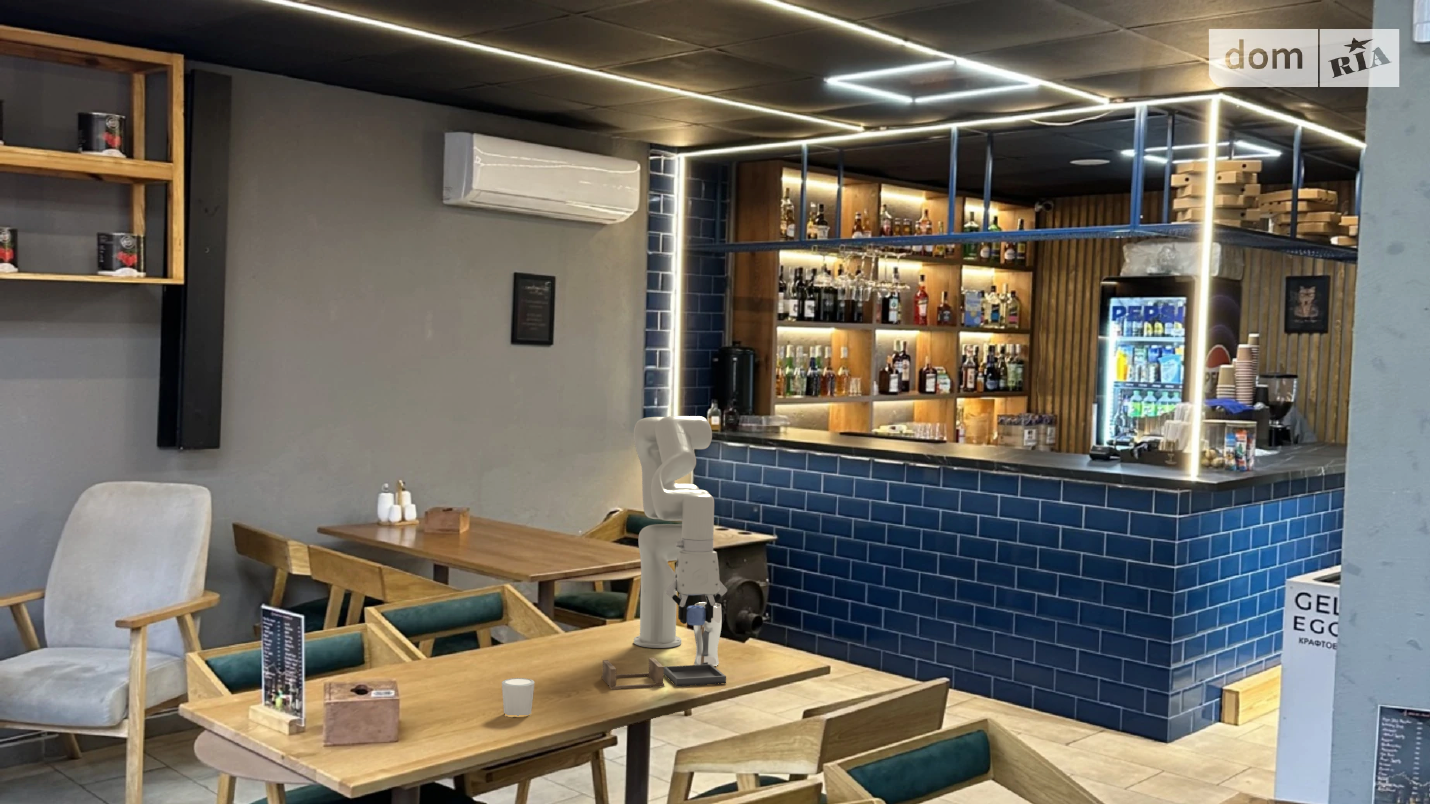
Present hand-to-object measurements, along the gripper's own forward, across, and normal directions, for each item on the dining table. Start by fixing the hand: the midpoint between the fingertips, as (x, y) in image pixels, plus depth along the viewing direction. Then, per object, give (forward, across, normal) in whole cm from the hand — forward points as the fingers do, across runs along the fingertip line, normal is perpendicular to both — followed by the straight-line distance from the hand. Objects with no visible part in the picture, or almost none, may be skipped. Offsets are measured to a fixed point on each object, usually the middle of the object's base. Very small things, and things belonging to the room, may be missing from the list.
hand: (695, 621), depth 307 cm
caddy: (+14, -15, 0) cm, 20 cm away
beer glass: (+14, +7, +13) cm, 20 cm away
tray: (+14, 0, 0) cm, 14 cm away
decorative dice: (+1, 0, 0) cm, 1 cm away
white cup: (+14, -45, -21) cm, 52 cm away
